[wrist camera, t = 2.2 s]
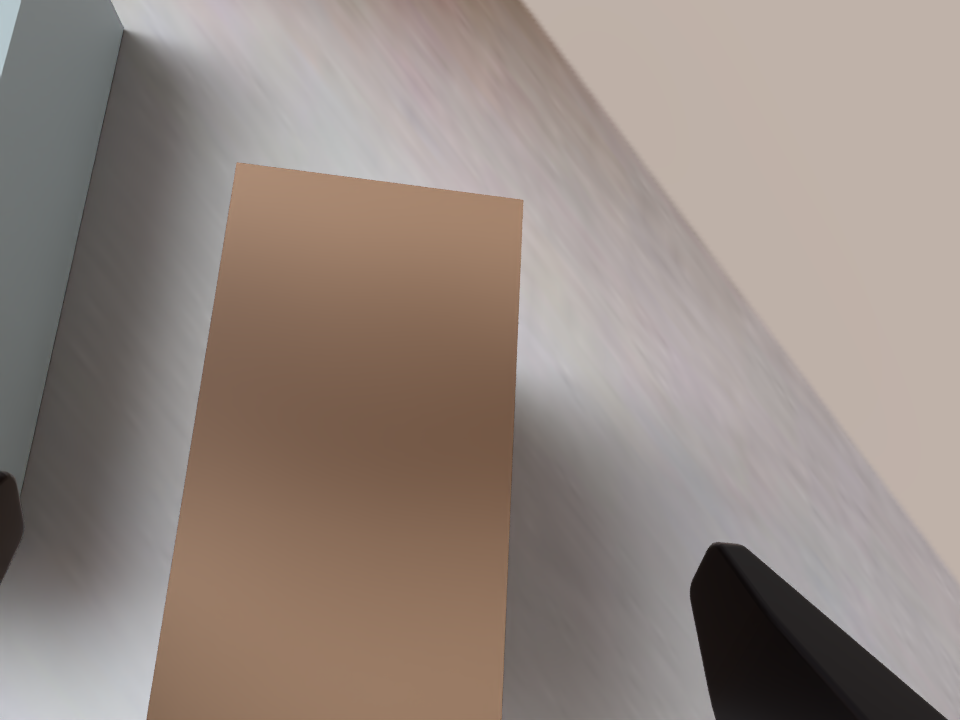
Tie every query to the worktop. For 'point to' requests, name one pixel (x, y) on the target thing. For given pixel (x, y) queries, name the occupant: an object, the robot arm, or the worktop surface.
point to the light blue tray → (44, 185)
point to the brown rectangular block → (348, 459)
